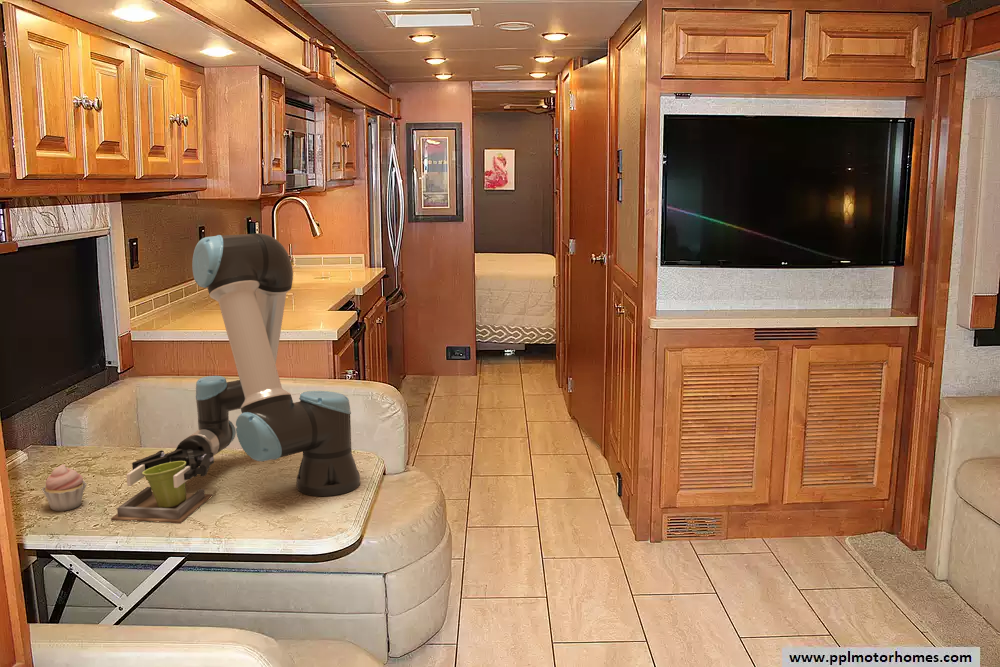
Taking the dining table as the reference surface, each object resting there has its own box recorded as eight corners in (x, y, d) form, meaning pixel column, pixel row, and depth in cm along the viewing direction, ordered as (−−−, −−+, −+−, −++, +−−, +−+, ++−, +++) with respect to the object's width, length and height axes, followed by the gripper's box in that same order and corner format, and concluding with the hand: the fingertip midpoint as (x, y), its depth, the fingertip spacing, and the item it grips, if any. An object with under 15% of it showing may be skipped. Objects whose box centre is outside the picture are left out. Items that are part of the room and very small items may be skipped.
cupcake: (96, 505, 197) (92, 463, 195) (54, 517, 190) (49, 474, 188) (78, 495, 203) (74, 455, 201) (36, 507, 196) (32, 465, 194)
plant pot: (151, 504, 198) (142, 468, 197) (193, 493, 201) (185, 457, 200) (150, 514, 189) (141, 477, 188) (194, 503, 192) (186, 466, 191)
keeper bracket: (212, 496, 202) (212, 486, 202) (180, 523, 187) (179, 512, 186) (148, 493, 204) (147, 483, 203) (111, 520, 188) (110, 509, 188)
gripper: (242, 465, 211) (202, 499, 189) (154, 462, 213) (104, 495, 192) (240, 436, 209) (199, 466, 188) (152, 433, 212) (101, 463, 190)
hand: (151, 481), depth 190 cm, fingers open, 10 cm apart
